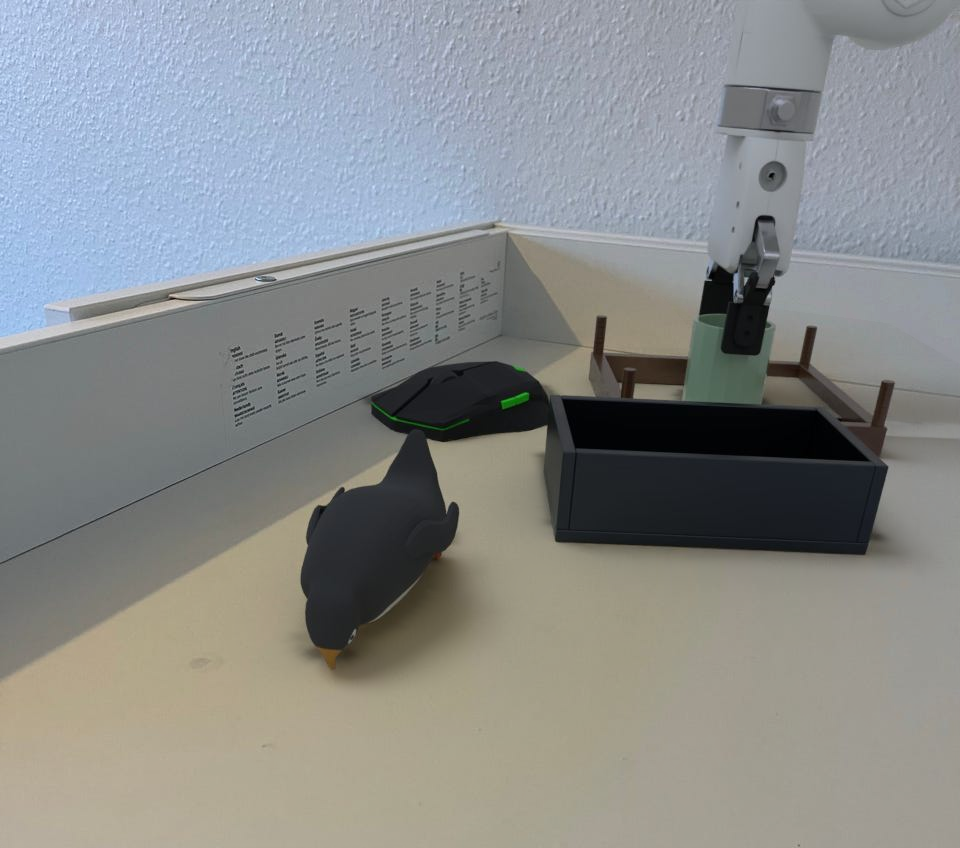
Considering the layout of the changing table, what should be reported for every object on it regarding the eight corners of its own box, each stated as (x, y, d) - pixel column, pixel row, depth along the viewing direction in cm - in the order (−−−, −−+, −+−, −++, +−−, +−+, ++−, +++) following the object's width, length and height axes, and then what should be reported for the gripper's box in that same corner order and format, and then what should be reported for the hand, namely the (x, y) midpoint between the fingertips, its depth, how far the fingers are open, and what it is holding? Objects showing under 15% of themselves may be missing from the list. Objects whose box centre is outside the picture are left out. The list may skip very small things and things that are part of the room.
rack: (803, 387, 98) (816, 325, 95) (880, 458, 79) (899, 383, 76) (588, 377, 97) (594, 314, 94) (614, 446, 79) (623, 370, 76)
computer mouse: (587, 415, 86) (591, 369, 84) (445, 450, 76) (447, 399, 74) (496, 386, 93) (498, 342, 91) (355, 415, 83) (354, 367, 81)
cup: (748, 404, 91) (764, 315, 87) (766, 426, 85) (785, 332, 81) (675, 401, 91) (687, 312, 87) (688, 423, 85) (703, 328, 81)
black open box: (807, 484, 73) (824, 407, 70) (866, 555, 62) (889, 466, 59) (543, 472, 72) (549, 394, 70) (554, 541, 61) (563, 451, 59)
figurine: (354, 585, 60) (248, 664, 46) (362, 419, 57) (251, 451, 43) (471, 602, 59) (399, 689, 45) (486, 434, 56) (413, 472, 42)
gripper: (851, 124, 69) (797, 368, 78) (785, 116, 84) (746, 322, 93) (746, 116, 69) (703, 362, 78) (698, 110, 84) (666, 316, 93)
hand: (726, 340), depth 85 cm, fingers open, 9 cm apart
